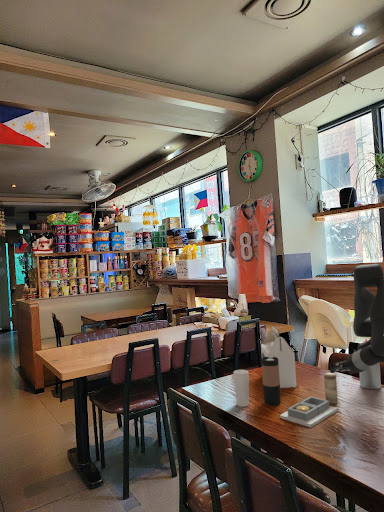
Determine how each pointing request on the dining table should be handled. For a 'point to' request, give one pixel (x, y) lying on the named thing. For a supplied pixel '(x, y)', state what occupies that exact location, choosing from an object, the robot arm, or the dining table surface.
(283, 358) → the gable box
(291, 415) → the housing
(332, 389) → the lidded cup
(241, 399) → the white cylinder
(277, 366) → the travel mug
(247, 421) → the dining table surface
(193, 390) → the dining table surface
